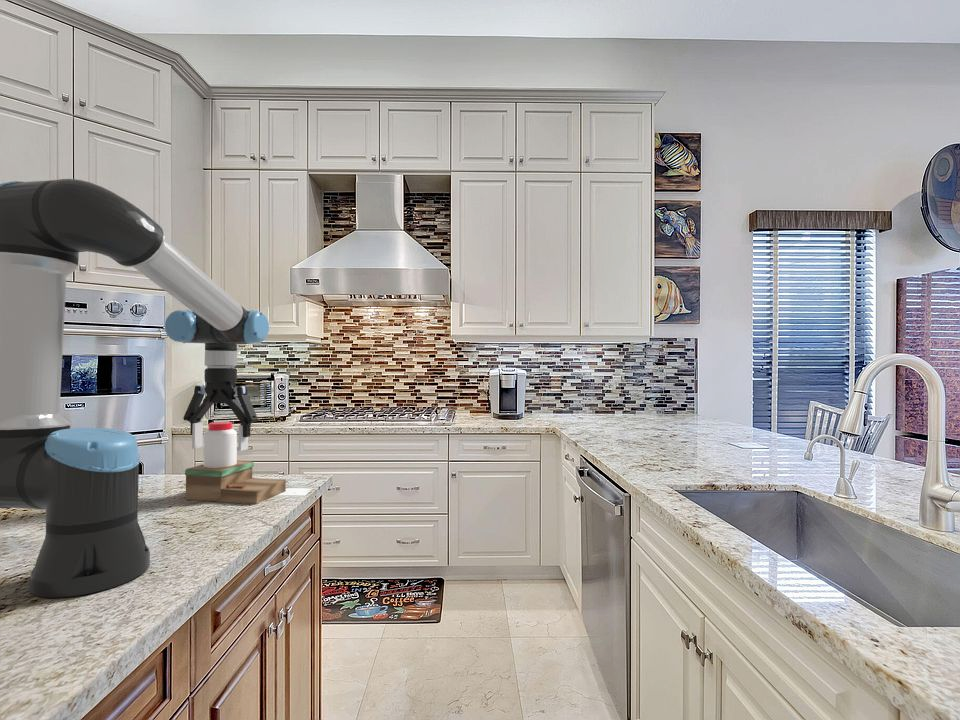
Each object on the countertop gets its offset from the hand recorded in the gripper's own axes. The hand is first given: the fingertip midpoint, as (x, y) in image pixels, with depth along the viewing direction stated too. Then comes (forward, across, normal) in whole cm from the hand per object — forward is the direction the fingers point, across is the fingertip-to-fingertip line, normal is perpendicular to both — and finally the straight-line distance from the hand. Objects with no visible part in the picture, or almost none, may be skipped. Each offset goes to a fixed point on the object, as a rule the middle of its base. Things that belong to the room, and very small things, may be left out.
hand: (220, 448), depth 128 cm
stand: (+12, -5, 0) cm, 13 cm away
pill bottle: (+4, 0, 0) cm, 4 cm away
